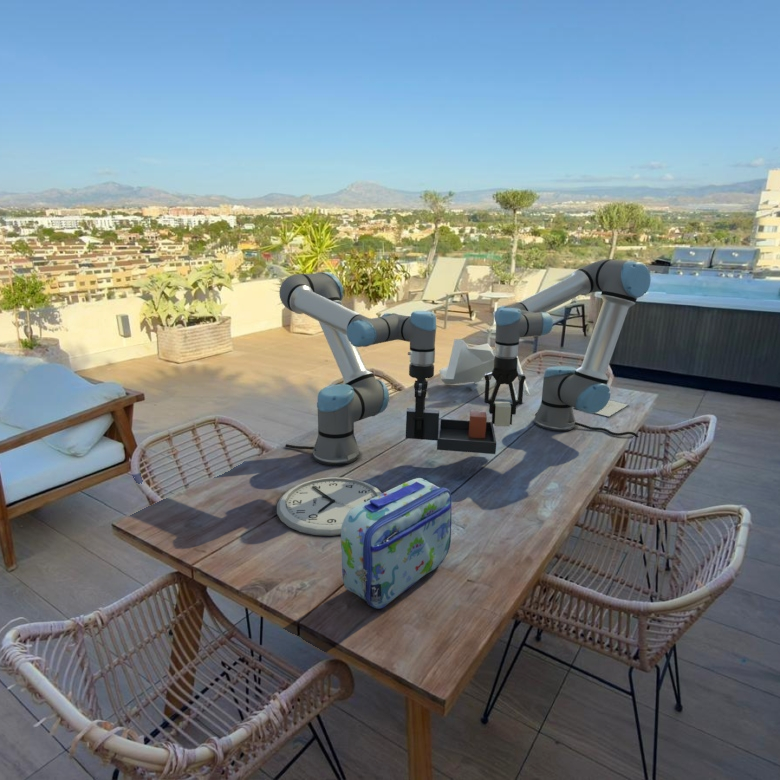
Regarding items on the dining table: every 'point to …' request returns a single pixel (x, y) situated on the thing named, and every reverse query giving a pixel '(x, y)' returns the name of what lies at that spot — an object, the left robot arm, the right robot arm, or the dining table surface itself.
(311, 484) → the wall clock
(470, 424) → the terracotta block
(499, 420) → the cream block
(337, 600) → the dining table surface
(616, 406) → the invitation card
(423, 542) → the lunch box
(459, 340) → the white plastic object
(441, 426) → the tray
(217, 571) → the dining table surface
